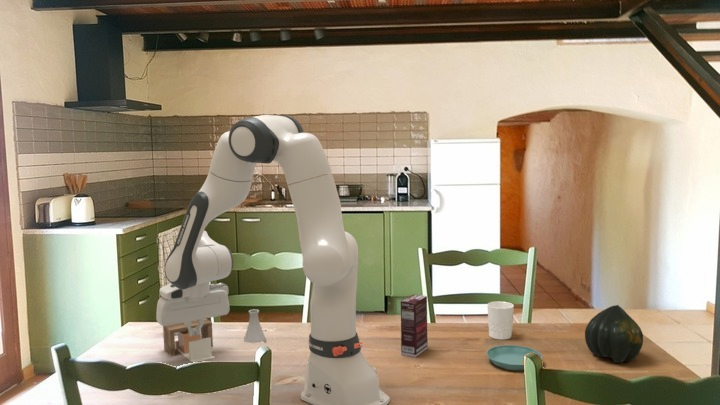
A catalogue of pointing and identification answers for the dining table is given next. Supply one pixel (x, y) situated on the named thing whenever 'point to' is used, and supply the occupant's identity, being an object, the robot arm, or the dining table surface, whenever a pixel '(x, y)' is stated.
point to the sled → (198, 350)
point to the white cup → (500, 319)
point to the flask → (254, 329)
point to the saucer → (509, 356)
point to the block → (186, 340)
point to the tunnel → (171, 329)
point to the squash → (614, 335)
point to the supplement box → (414, 325)
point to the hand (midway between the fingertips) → (194, 335)
